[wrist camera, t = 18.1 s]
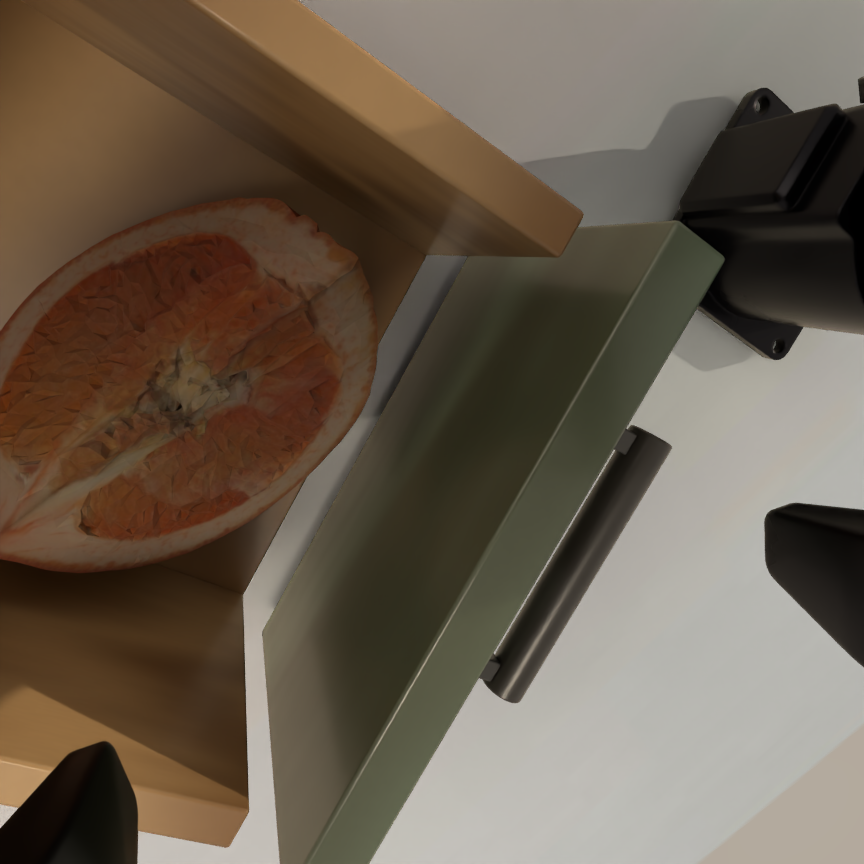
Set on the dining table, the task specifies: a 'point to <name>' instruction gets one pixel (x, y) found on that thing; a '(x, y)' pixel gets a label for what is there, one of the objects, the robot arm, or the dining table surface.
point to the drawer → (382, 453)
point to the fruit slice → (177, 384)
